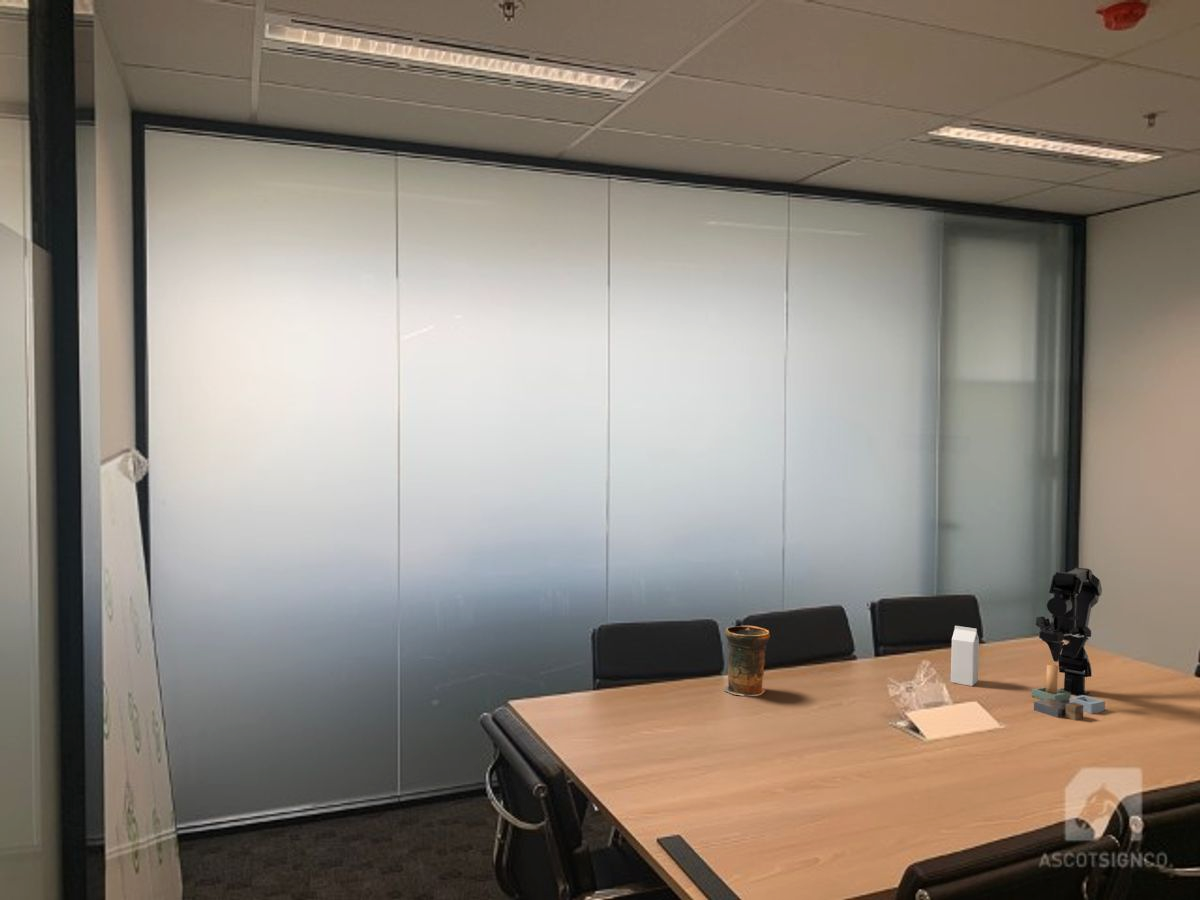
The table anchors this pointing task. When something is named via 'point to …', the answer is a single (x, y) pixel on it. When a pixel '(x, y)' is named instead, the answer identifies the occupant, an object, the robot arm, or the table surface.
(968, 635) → the milk carton
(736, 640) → the vessel
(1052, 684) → the dowel
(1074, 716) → the block
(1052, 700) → the grey slab
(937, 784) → the table surface
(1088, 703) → the socket block
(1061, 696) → the tray
